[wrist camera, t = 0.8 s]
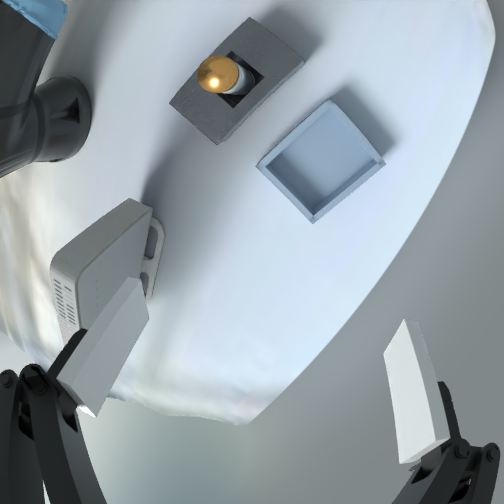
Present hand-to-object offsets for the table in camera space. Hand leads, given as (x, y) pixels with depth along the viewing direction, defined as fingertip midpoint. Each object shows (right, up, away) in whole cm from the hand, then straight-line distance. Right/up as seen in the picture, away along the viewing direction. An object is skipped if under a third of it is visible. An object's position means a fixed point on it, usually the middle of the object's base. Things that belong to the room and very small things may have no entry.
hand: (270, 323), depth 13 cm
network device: (-21, +2, +33) cm, 39 cm away
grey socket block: (-2, +24, +16) cm, 29 cm away
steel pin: (-2, +24, +16) cm, 29 cm away
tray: (+8, +15, +20) cm, 26 cm away
